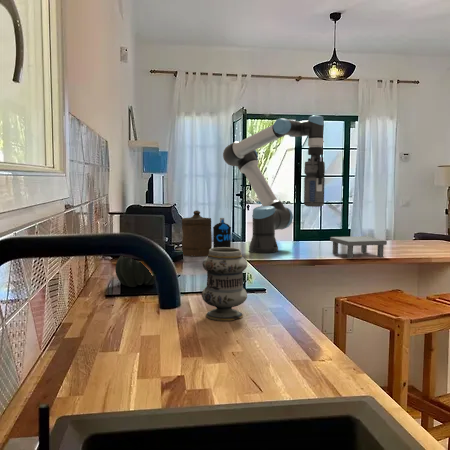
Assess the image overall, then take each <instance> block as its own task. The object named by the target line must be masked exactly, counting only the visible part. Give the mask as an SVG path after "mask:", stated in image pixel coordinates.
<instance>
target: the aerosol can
mask: <svg viewBox="0 0 450 450" xmlns="http://www.w3.org/2000/svg"><path fill="white" fill-rule="evenodd" d="M212 230H213V231H212V232H213V235H212V236H213V237H212V238H213V239H212V246H213V247H212V248H217V247H231V246H232V245H231V243H232V241H231V239H232V238H231V236H232V235H231V234H232V232H231V230H232V226H230V225H229V224H228V223H226V222H225V217H220V218H219V222H218V223H216V224H214V226H212ZM231 248H232V247H231Z"/></svg>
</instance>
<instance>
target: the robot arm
mask: <svg viewBox="0 0 450 450" xmlns="http://www.w3.org/2000/svg"><path fill="white" fill-rule="evenodd" d="M324 122H325V121H324V116H322V115H310V116H308V120H304V121H303V120H300V121H299V120H294V119H288V118H277V119H276V120H275V121H274V122H273V124H272V125H270V126H268V127H266V128H264V129H262V130H260V131H258V132H256V133H254V134H252V135H250V136H248V137H246V138H244V139H243V140H240V141H234V142H231V144H228V145H227V146H226V147H225V148H224V149H223V152H222V157H223V161H224V162H225V164H227V165H229V166H230V167H231V166H232V167H237V169H238V170H239V172H240V173H241V174H244V176H245V177H246V179H247V180H248V182H249V184H250V186H251V188H252V189H253V191H254V193H255V195H256V196H257V198H258V200H259V202H260V203H261V206H257V207H254V208H253V209H252V217H251V218H252V235H251V236H252V237H251V240H250V243H249V246H248V252H251V253H258V254H260V253H261V254H270V253H277V252H279V246H278V243H277V239H276V237H275V236H276V233H275V232H276V231H277V230H285V229H287V228H289V227H290V226H291V225H292V222H293V219H294V215H293V212H292V210H291V209H290V208H289V207H286V206H285V204H283V202H282V201H281V200H278V199H277V196H275V193H274V192H273V190H272V188H271V187H270V185H269V183H268V181H267V180H266V177H265V176H264V175H263V172H262V171H261V169H260V168H259V154H258V151H257V150H258V149H261V148H262V147H264V146H266V145H269V144H271V143H272V142H275V141H276V140H279V139H280V138H283V137H285V136H288V137H290V138H293V137H294V138H298V137H305V136H306V137H308V139H307V155H308V156H310V158H308V159H307V162H308V161H311V158H312V157H315V161H318V170H317V177H316V178H317V182H316V191H322V178H323V177H324V178H325V173H324V165H323V162H324V156H323V155H324V147H323V146H324V143H325V141H324V128H325V124H324Z"/></svg>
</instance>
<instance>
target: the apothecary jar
mask: <svg viewBox="0 0 450 450" xmlns="http://www.w3.org/2000/svg"><path fill="white" fill-rule="evenodd" d="M247 267H248V261H247V260H246V259H245V257H243V255H242V250H241V249H240V248H237V247H217V248H213V247H212V248H211V249H210V250H209V254H208V256H205V258H204V259H203V261H202V268H203V269H204V270H205V271H206V274H207V277H206V287H204V289H203V290H202V292H201V293H202V294H201V298H202V300H203V301H204V302H205V303H206V304H207V305H209V306H212V307H215V308H214V309H212V310H209V311H208V312H207V313H205V317H206V318H207V319H210V320H214V321H220V322H230V321H234V320H235V321H236V320H237V319H238V320H240V319H242V318H243V316H244V315H243V313H242V312H241V311H238V310H237V309H235V307H239V306H240V305H242V304H244V303H245V302H246V300H247V298H248V293H247V290H246V289H245V288H244V285H243V282H244V281H243V273H244V271H245V270H246V269H247Z"/></svg>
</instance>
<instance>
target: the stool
mask: <svg viewBox="0 0 450 450" xmlns="http://www.w3.org/2000/svg"><path fill="white" fill-rule="evenodd" d="M329 238H330V239H329V241H330V242H332V254H339V244H340V245H343V246H347V251H346V254H347V255H346V257H347V259H353V258H354V246H356V247H359V246H361V249H360V251H361V253H367V252H368V249H367V248H368V246H377V251H376V252H377V255H376V256H377V257H378V258H384V249H385V248H384V246H387V244H388V243H387V242H388V240H384V239H381V238H376V237H375V238H374V237H371V236H367V235H365V236H359V235H358V236H330V237H329Z"/></svg>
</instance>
